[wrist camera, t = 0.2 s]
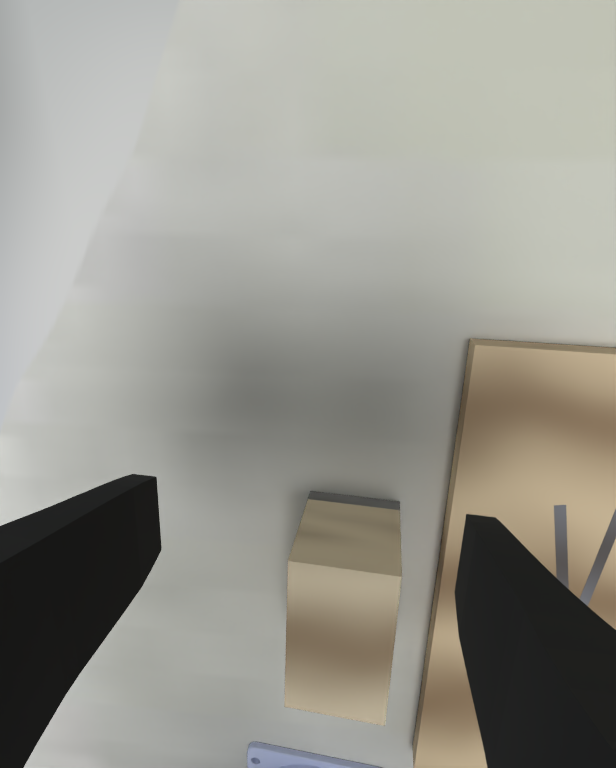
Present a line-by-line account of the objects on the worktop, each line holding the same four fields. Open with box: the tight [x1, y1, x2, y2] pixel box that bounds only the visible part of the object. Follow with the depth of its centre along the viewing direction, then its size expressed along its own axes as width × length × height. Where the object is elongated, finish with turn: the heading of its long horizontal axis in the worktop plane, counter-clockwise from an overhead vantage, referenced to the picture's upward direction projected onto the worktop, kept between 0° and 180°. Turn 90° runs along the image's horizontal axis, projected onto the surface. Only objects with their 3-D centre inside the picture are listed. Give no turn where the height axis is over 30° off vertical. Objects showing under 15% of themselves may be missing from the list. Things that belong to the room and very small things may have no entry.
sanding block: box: [285, 491, 402, 726], centre depth 20 cm, size 7×4×5 cm, turn 178°
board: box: [413, 338, 616, 768], centre depth 20 cm, size 22×12×1 cm, turn 178°
